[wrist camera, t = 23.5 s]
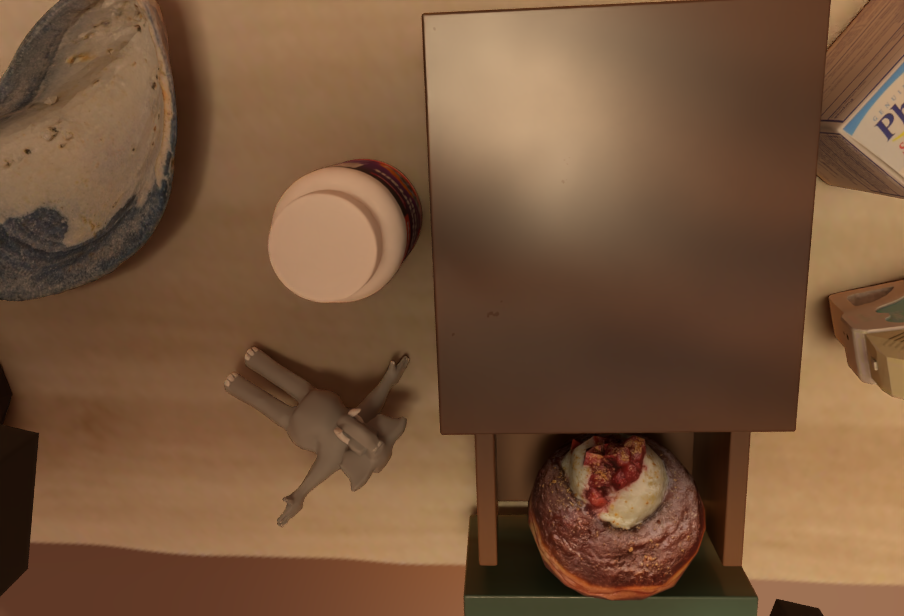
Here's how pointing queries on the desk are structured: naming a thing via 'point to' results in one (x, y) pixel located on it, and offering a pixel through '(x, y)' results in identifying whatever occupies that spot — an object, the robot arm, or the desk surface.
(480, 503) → the drawer
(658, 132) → the cabinet
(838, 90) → the medicine box
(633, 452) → the pastry
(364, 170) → the pill bottle
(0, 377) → the portable speaker
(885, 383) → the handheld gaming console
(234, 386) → the elephant figurine
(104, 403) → the desk surface
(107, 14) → the seashell
